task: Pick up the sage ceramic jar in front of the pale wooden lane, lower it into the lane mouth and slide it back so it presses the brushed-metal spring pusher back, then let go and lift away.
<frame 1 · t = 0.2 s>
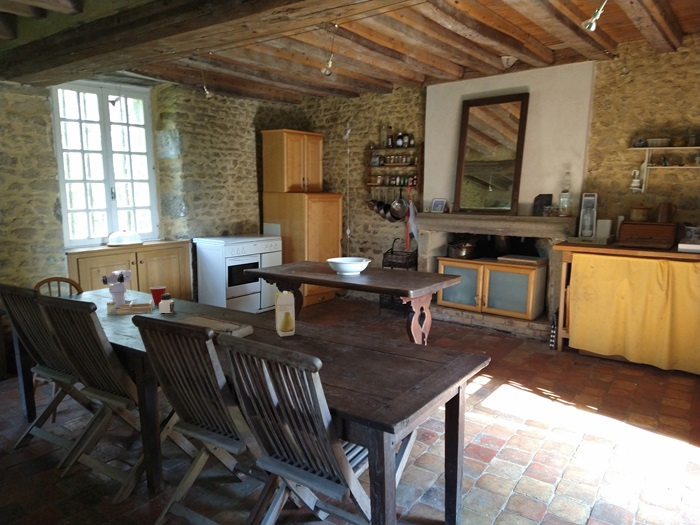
hand: (111, 281, 305), 21 cm above the table, tool horizontal, fingers open, 7 cm apart
pusher: (131, 306, 314), point 3 cm above the table, slide at 0.0 cm
plastic cup: (159, 304, 334), on the table
lane: (135, 311, 315), on the table
medicine bottle: (167, 312, 311), on the table
jar: (111, 313, 309), on the table
juice carton: (285, 334, 263), on the table
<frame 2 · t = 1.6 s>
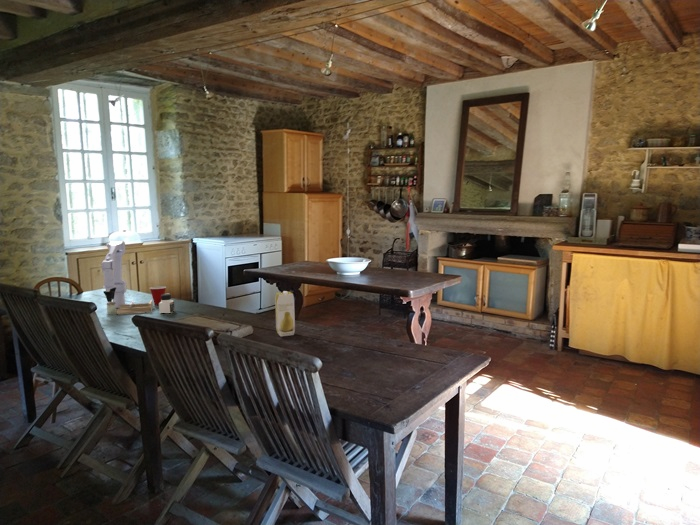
hand: (110, 300, 308), 8 cm above the table, tool pointing down, fingers open, 7 cm apart
nothing on the table moved.
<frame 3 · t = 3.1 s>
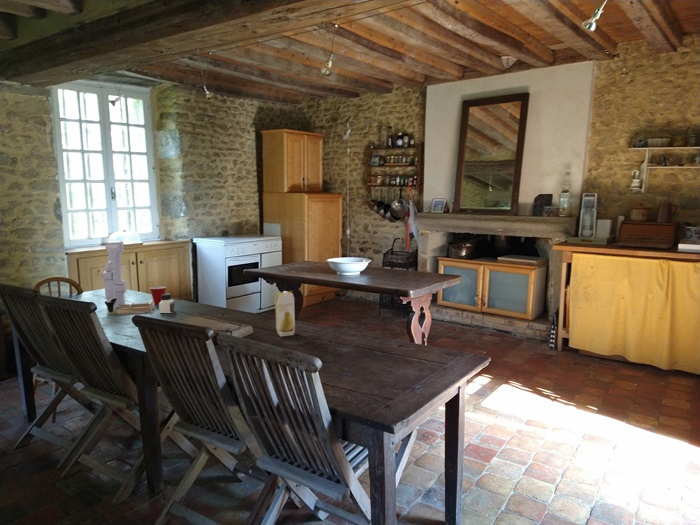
hand: (111, 311, 309), 2 cm above the table, tool pointing down, fingers closed on jar, 5 cm apart
jar: (111, 313, 309), on the table, touching gripper
everything else where it was.
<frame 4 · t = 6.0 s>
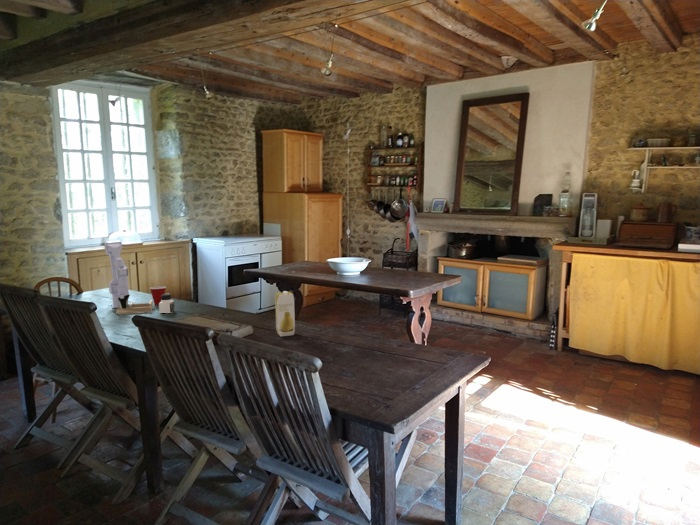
hand: (124, 307, 313), 3 cm above the table, tool pointing down, fingers closed on jar, 5 cm apart
jar: (124, 310, 313), point 1 cm above the table, touching gripper
everything else where it was.
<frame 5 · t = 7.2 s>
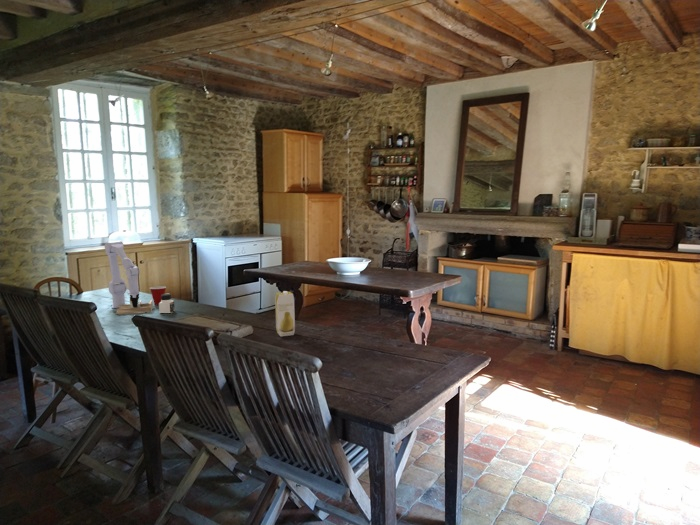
hand: (135, 306, 314), 3 cm above the table, tool pointing down, fingers closed on jar, 5 cm apart
pusher: (139, 305, 315), point 3 cm above the table, slide at 4.9 cm, touching gripper
jar: (134, 309, 314), point 1 cm above the table, touching gripper
everything else where it was.
when the fingers open (3 cm above the table, at t = 9.0 s): jar stays where it is, resting on lane.
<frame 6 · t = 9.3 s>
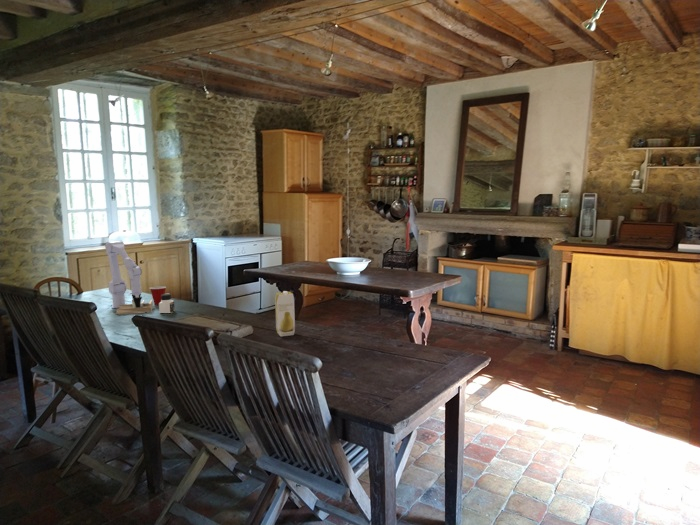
hand: (137, 306, 315), 3 cm above the table, tool pointing down, fingers open, 7 cm apart
pusher: (142, 305, 315), point 3 cm above the table, slide at 6.6 cm, touching gripper
jar: (137, 310, 315), point 1 cm above the table, touching lane
everything else where it was.
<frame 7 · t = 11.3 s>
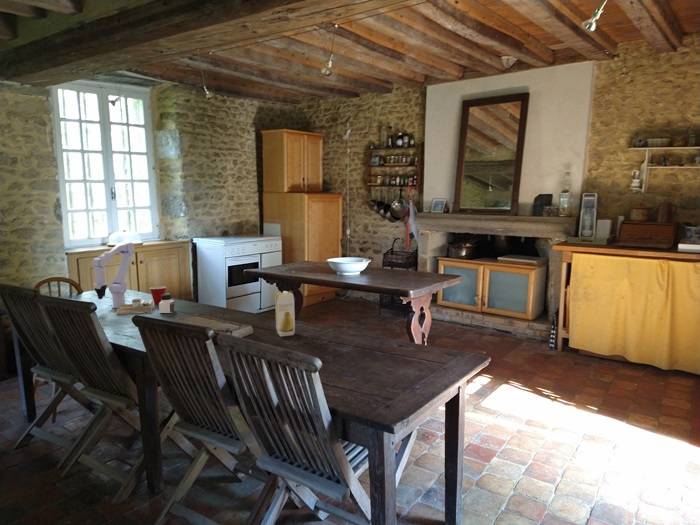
hand: (101, 297, 311), 9 cm above the table, tool pointing down, fingers open, 7 cm apart
pusher: (142, 305, 315), point 3 cm above the table, slide at 6.6 cm
everything else where it was.
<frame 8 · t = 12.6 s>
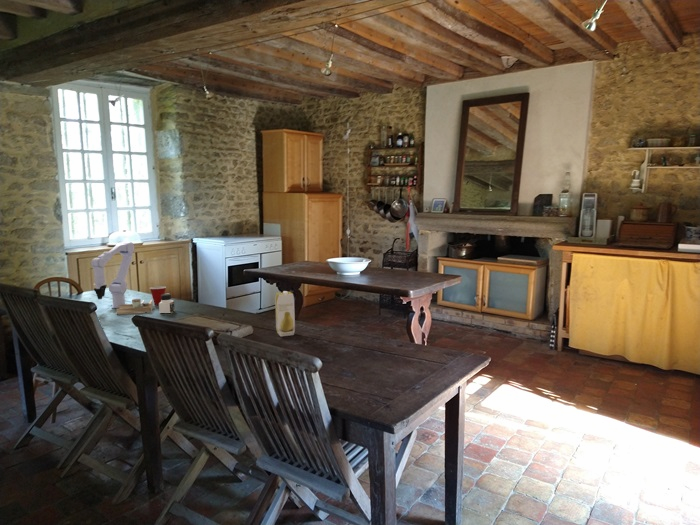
hand: (101, 297, 311), 9 cm above the table, tool pointing down, fingers open, 7 cm apart
nothing on the table moved.
at the end: jar inside the target area (1.4 cm from its centre), point 0.5 cm above the table; pusher slide at 6.6 cm; jar tilted 0° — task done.
